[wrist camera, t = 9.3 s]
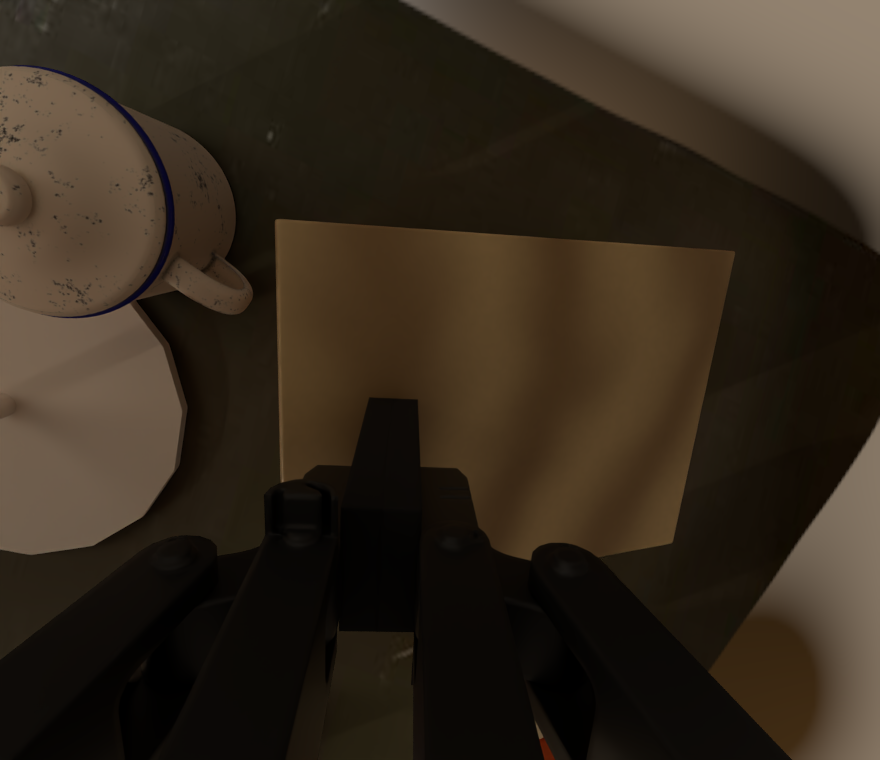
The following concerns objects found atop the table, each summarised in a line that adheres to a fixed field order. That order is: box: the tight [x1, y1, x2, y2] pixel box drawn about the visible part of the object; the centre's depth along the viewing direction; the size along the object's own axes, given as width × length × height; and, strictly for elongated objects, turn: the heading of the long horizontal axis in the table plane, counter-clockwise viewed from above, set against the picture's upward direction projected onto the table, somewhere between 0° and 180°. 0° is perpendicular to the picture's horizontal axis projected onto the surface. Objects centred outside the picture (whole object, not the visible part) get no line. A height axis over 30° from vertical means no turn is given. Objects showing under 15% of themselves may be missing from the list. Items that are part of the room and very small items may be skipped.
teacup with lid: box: [0, 65, 253, 318], centre depth 22 cm, size 12×9×12 cm
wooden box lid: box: [275, 219, 735, 560], centre depth 18 cm, size 16×13×1 cm
